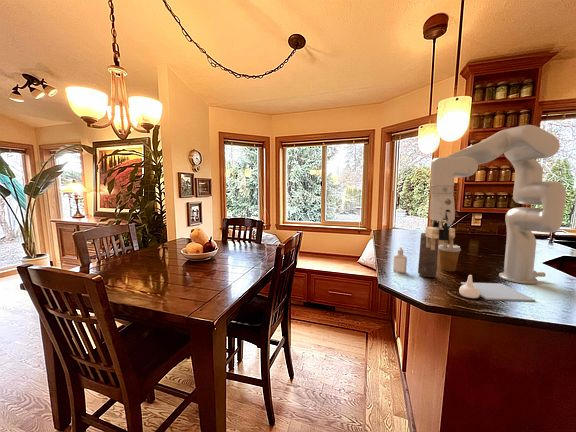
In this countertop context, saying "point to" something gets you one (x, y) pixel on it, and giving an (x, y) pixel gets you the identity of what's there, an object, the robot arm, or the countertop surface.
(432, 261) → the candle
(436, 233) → the beech stool
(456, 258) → the disposable coffee cup
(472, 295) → the garlic bulb
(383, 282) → the countertop surface
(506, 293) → the felt mat
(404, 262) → the eye dropper bottle
